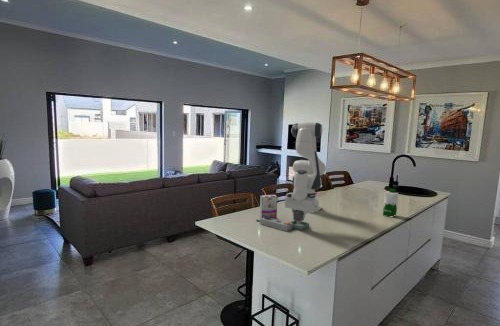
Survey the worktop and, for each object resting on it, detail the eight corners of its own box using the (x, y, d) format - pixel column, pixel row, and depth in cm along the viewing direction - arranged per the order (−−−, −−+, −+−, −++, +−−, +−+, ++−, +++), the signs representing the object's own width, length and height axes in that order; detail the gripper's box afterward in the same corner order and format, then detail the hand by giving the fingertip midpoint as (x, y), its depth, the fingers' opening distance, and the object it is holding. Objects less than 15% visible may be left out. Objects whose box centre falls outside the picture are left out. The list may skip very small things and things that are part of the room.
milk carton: (397, 215, 223) (399, 190, 220) (393, 218, 216) (395, 191, 214) (385, 213, 229) (387, 188, 227) (381, 215, 222) (383, 189, 220)
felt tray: (295, 223, 195) (295, 219, 195) (309, 226, 189) (309, 223, 189) (287, 227, 187) (287, 223, 187) (301, 230, 181) (301, 226, 181)
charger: (292, 222, 187) (293, 210, 186) (296, 221, 191) (297, 209, 190) (299, 224, 184) (300, 212, 183) (303, 222, 188) (304, 210, 187)
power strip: (253, 222, 195) (253, 214, 194) (259, 219, 200) (259, 211, 200) (286, 231, 179) (287, 222, 179) (292, 228, 185) (292, 220, 184)
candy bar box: (274, 217, 208) (275, 194, 206) (276, 219, 203) (277, 196, 201) (259, 217, 205) (260, 194, 203) (261, 220, 200) (262, 196, 198)
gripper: (317, 197, 182) (316, 219, 184) (288, 192, 194) (287, 212, 196) (312, 199, 177) (311, 221, 179) (283, 193, 189) (282, 214, 191)
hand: (298, 216), depth 187 cm, fingers closed on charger, 5 cm apart
